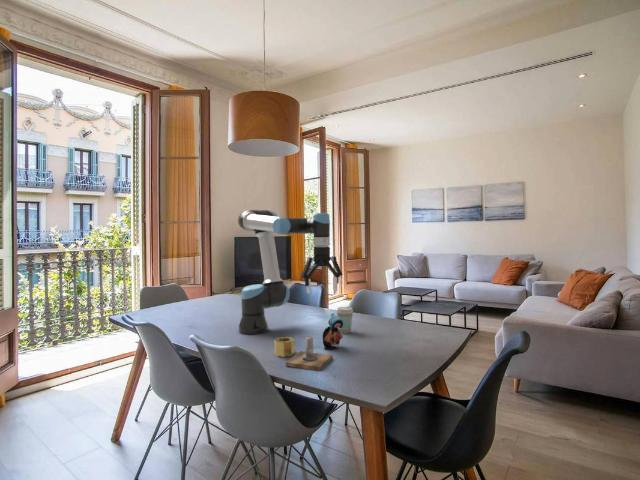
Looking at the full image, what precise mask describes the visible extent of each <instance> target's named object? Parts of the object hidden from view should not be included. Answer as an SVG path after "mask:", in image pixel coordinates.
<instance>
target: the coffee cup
mask: <svg viewBox="0 0 640 480" xmlns="http://www.w3.org/2000/svg"><path fill="white" fill-rule="evenodd" d="M353 313H354V310H353V308H352V307H350V306H341V307H337V309H336V314H337V315H336V316H337V317H338V318H340V319H342V320H343V327H342V328H338V329H339V330H340V332H341V334H349V333H351V332H352V325H353V323H352V322H353V315H354V314H353Z"/></svg>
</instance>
